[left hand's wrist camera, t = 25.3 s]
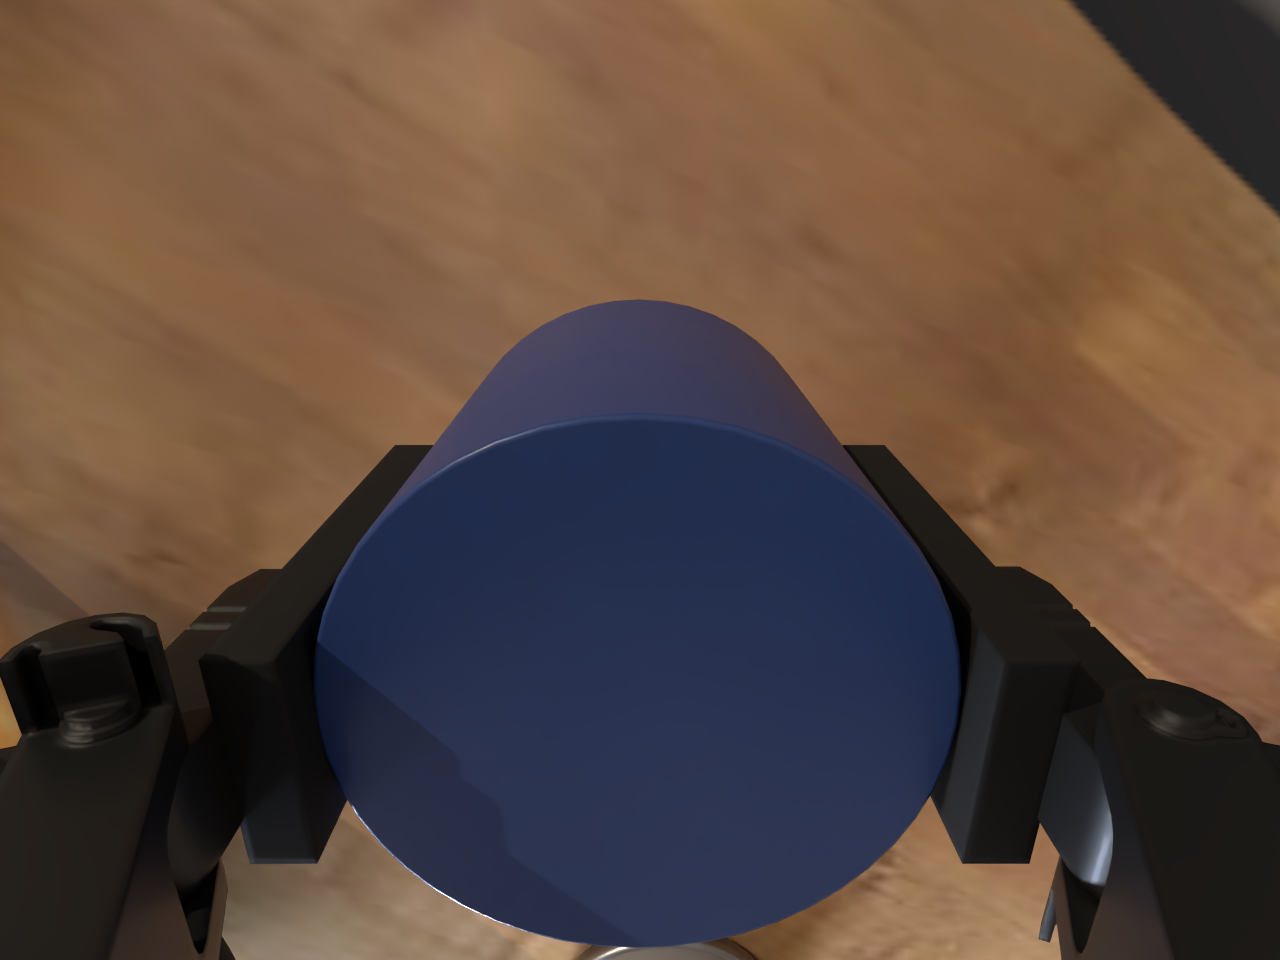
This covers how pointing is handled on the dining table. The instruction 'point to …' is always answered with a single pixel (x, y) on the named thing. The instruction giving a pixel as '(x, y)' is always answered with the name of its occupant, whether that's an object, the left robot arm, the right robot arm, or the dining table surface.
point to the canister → (637, 644)
